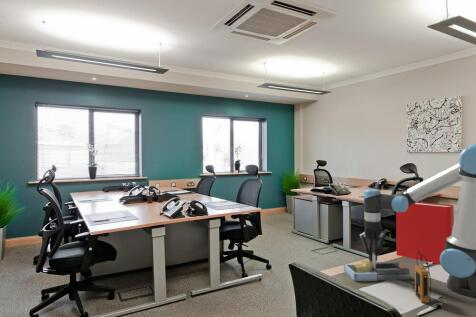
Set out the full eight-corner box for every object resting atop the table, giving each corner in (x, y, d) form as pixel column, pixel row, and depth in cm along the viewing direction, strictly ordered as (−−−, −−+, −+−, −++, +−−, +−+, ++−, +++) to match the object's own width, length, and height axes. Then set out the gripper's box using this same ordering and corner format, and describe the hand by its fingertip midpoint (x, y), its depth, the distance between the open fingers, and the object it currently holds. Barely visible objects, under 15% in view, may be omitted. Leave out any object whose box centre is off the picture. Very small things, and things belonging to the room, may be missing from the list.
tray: (377, 280, 147) (377, 273, 147) (354, 281, 146) (354, 274, 146) (364, 270, 160) (364, 263, 160) (344, 271, 159) (344, 264, 159)
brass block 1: (365, 266, 151) (356, 267, 151) (366, 274, 151) (357, 275, 151) (362, 263, 155) (353, 264, 155) (362, 271, 155) (353, 272, 155)
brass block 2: (373, 271, 151) (373, 262, 151) (366, 272, 151) (365, 263, 151) (370, 268, 155) (369, 259, 155) (362, 269, 155) (361, 260, 155)
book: (396, 255, 183) (396, 201, 183) (401, 252, 189) (401, 200, 188) (450, 266, 163) (450, 207, 163) (454, 263, 169) (454, 205, 168)
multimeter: (453, 309, 119) (453, 258, 118) (425, 307, 121) (424, 257, 120) (436, 293, 133) (436, 247, 133) (411, 291, 135) (411, 246, 135)
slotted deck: (410, 279, 148) (410, 269, 148) (377, 280, 147) (377, 270, 147) (396, 269, 160) (396, 261, 160) (366, 270, 159) (366, 262, 159)
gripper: (381, 218, 157) (381, 264, 157) (356, 219, 157) (357, 265, 157) (389, 221, 150) (389, 269, 150) (363, 222, 149) (363, 270, 149)
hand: (373, 267), depth 153 cm, fingers closed
